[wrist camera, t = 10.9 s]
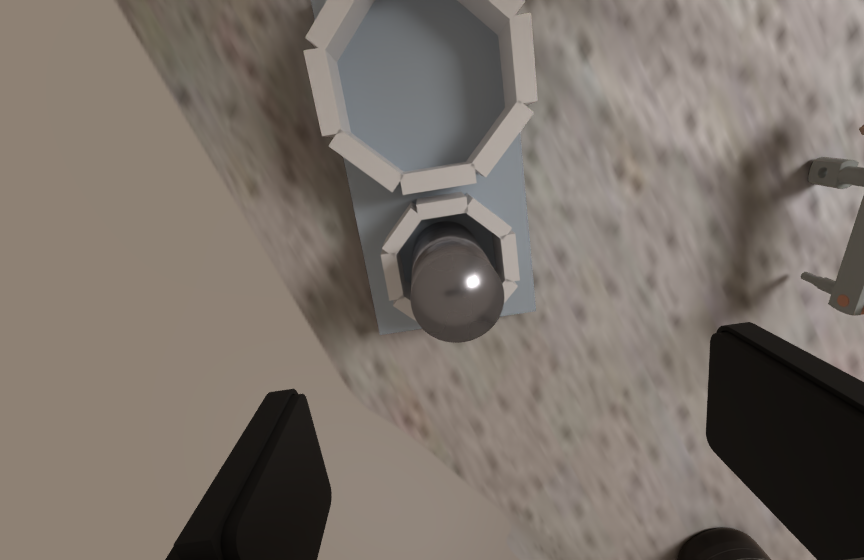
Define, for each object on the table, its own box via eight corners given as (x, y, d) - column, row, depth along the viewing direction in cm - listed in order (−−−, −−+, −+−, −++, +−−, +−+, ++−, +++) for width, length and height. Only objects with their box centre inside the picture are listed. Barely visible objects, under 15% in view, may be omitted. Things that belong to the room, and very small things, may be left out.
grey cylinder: (406, 227, 25) (402, 263, 18) (473, 215, 25) (498, 246, 18) (419, 290, 27) (419, 349, 19) (483, 279, 26) (509, 334, 19)
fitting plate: (309, -1, 23) (284, -35, 19) (504, -34, 23) (524, -76, 19) (377, 326, 29) (370, 357, 24) (534, 302, 29) (555, 329, 24)
